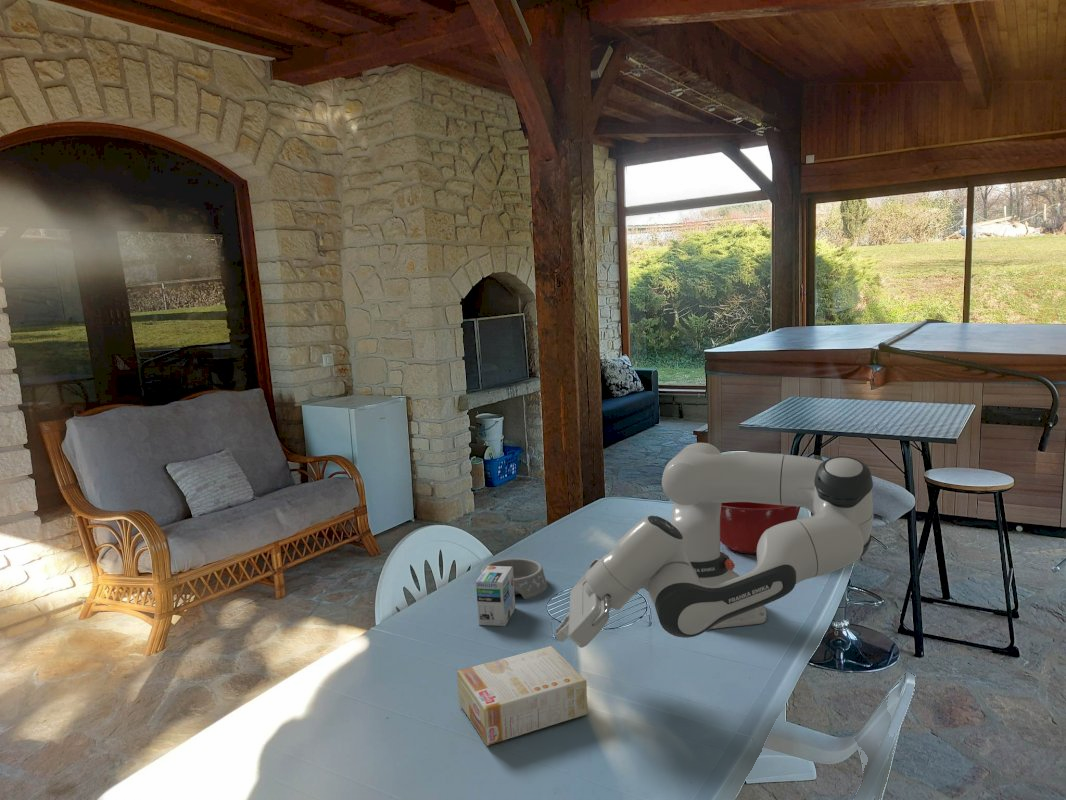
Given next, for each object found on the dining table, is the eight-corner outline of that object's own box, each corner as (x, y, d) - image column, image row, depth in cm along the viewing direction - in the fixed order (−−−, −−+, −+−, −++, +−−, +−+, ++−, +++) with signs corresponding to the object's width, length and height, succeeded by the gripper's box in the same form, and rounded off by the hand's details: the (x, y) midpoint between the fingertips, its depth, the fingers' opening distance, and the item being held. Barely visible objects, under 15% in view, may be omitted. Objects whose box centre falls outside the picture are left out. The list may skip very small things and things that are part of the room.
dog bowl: (480, 576, 202) (479, 558, 201) (547, 574, 201) (546, 555, 201) (474, 602, 185) (472, 582, 184) (547, 599, 184) (546, 579, 184)
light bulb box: (505, 627, 170) (503, 582, 168) (477, 626, 171) (474, 581, 170) (516, 607, 180) (513, 565, 179) (489, 606, 181) (486, 564, 180)
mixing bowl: (722, 525, 233) (721, 478, 231) (815, 539, 217) (815, 488, 214) (685, 553, 211) (683, 501, 209) (785, 570, 194) (785, 514, 192)
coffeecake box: (552, 677, 145) (458, 704, 137) (551, 643, 144) (455, 668, 136) (588, 716, 132) (485, 748, 124) (587, 679, 130) (483, 709, 123)
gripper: (624, 621, 126) (569, 675, 128) (618, 576, 147) (571, 623, 149) (596, 597, 126) (542, 651, 128) (595, 555, 146) (548, 603, 148)
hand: (558, 636), depth 139 cm, fingers closed
